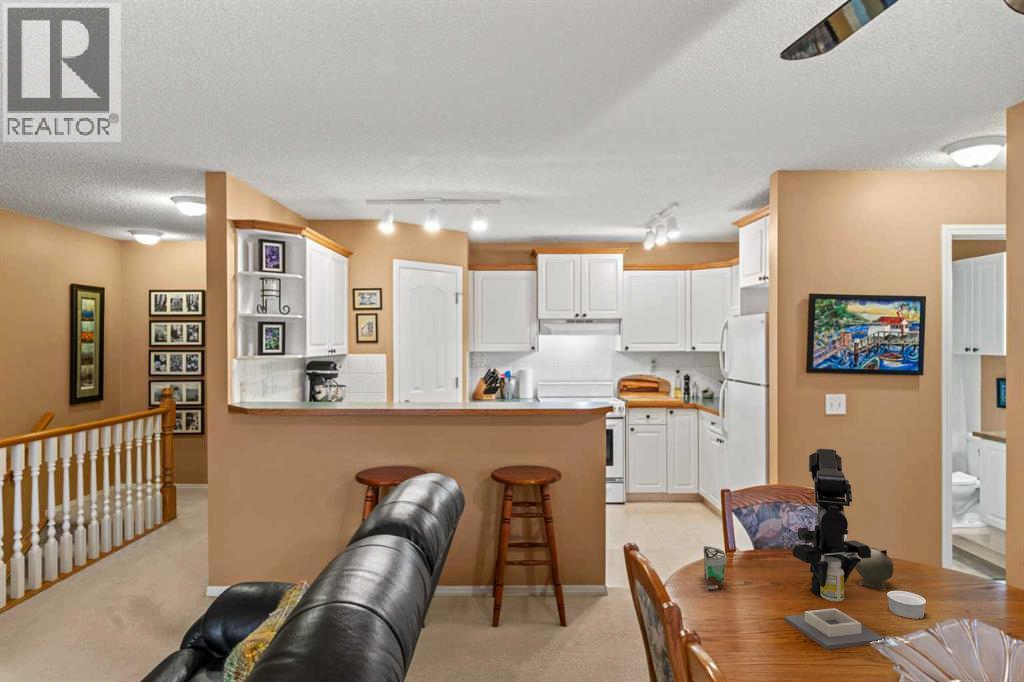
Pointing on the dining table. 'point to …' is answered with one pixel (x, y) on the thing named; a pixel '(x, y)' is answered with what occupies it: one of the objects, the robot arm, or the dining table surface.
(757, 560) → the dining table surface
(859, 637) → the bottle holder
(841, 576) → the supplement bottle
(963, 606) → the dining table surface
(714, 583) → the food container
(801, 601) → the dining table surface
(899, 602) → the ramekin
